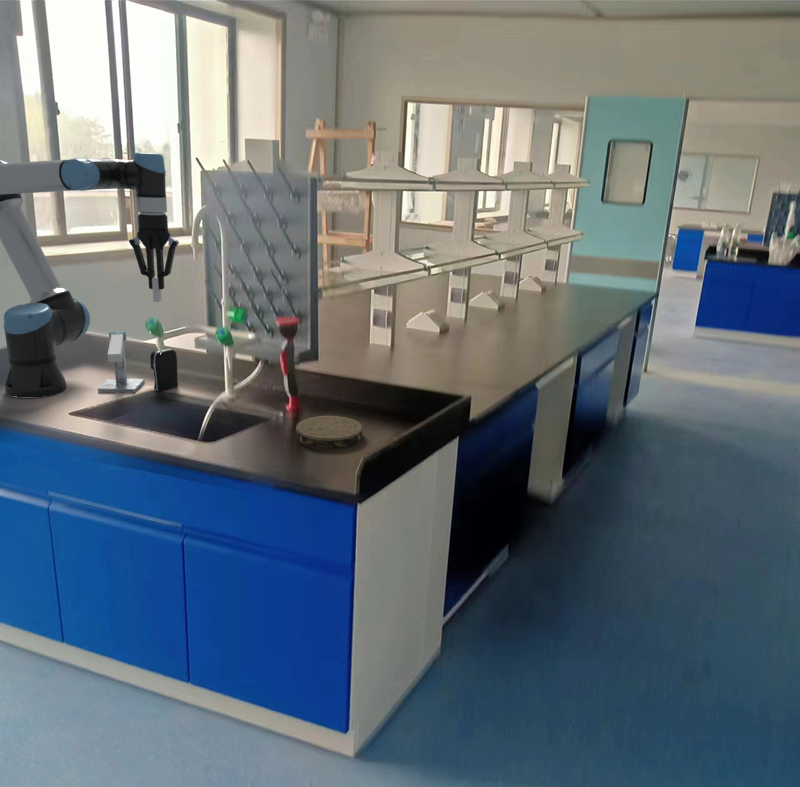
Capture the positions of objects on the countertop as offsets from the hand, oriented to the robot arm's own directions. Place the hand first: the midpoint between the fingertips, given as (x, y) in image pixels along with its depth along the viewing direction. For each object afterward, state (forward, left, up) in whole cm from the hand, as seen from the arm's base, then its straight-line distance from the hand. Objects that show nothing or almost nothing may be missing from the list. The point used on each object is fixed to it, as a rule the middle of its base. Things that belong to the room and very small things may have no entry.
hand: (157, 300), depth 203 cm
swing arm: (-8, -12, -11) cm, 18 cm away
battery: (+1, -1, -25) cm, 25 cm away
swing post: (-11, -1, -25) cm, 27 cm away
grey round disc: (+49, -38, -26) cm, 67 cm away
